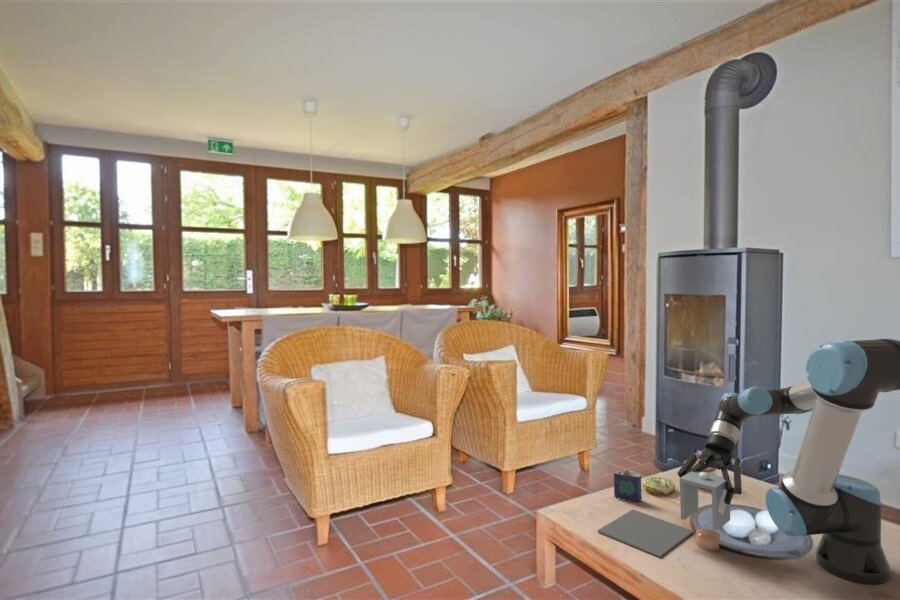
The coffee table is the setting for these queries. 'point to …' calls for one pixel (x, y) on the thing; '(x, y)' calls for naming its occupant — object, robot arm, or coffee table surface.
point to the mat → (646, 533)
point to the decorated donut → (659, 486)
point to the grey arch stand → (690, 495)
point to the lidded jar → (708, 470)
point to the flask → (627, 486)
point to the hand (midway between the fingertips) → (700, 507)
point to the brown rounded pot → (708, 539)
